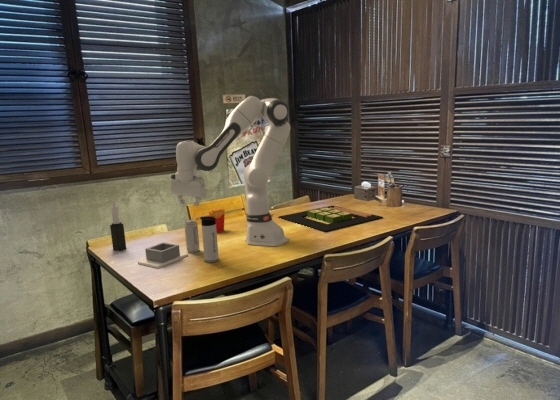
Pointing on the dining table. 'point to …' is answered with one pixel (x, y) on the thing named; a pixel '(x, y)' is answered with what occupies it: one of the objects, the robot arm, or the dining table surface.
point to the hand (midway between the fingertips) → (189, 204)
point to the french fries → (218, 218)
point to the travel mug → (209, 239)
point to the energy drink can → (192, 236)
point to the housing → (162, 255)
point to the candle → (117, 230)
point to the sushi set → (330, 218)
